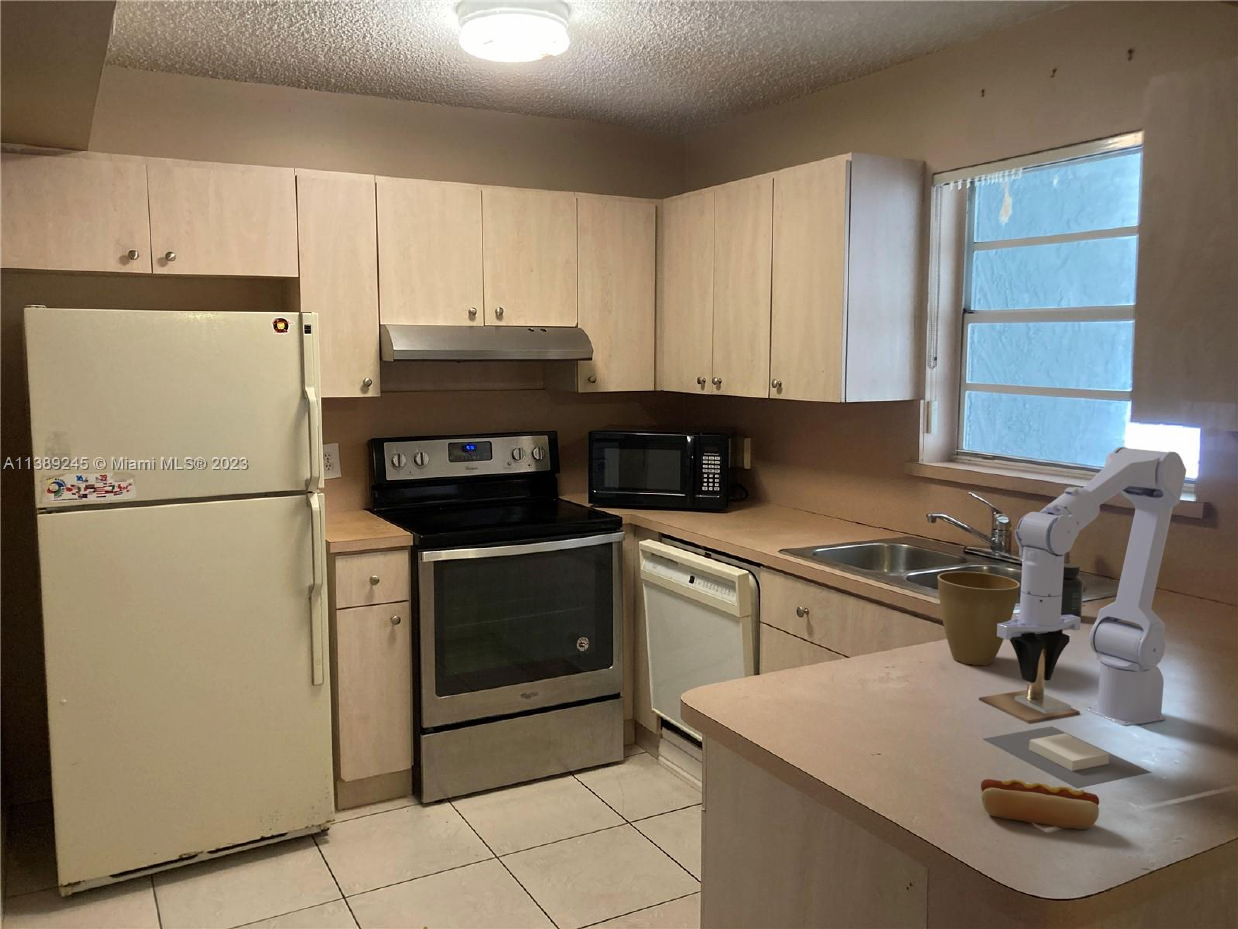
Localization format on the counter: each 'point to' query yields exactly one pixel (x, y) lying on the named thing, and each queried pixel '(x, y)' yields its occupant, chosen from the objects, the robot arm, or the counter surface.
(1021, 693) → the board
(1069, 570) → the supplement bottle
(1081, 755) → the tile
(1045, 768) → the mat
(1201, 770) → the counter surface
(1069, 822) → the food
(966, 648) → the plant pot
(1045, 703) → the stamp with brass handle
